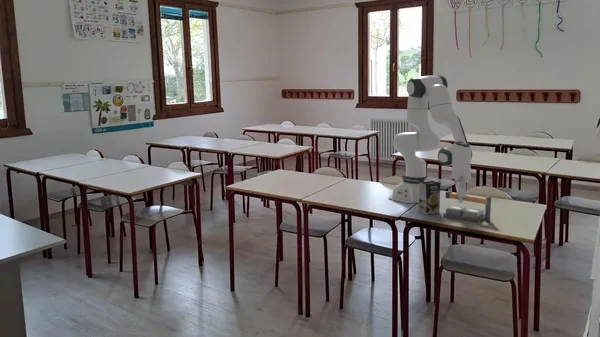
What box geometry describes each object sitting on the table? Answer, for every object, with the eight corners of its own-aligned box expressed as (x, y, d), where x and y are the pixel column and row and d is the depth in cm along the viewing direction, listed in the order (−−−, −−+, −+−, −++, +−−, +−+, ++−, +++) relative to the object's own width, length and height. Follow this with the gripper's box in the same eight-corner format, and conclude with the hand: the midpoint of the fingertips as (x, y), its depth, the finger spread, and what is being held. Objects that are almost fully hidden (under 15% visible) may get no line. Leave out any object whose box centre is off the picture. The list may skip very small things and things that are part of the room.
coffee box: (426, 215, 260) (427, 184, 257) (418, 212, 266) (418, 182, 263) (440, 212, 264) (441, 182, 261) (431, 209, 270) (432, 180, 267)
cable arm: (491, 219, 249) (492, 196, 247) (488, 221, 247) (489, 198, 244) (446, 211, 265) (447, 189, 263) (443, 212, 263) (444, 190, 261)
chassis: (443, 216, 257) (443, 208, 257) (451, 211, 265) (451, 204, 264) (478, 222, 246) (479, 214, 246) (485, 217, 254) (486, 209, 253)
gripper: (469, 179, 240) (468, 207, 243) (466, 170, 260) (465, 196, 262) (455, 179, 242) (454, 207, 245) (453, 170, 261) (452, 196, 264)
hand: (460, 201), depth 254 cm, fingers closed
